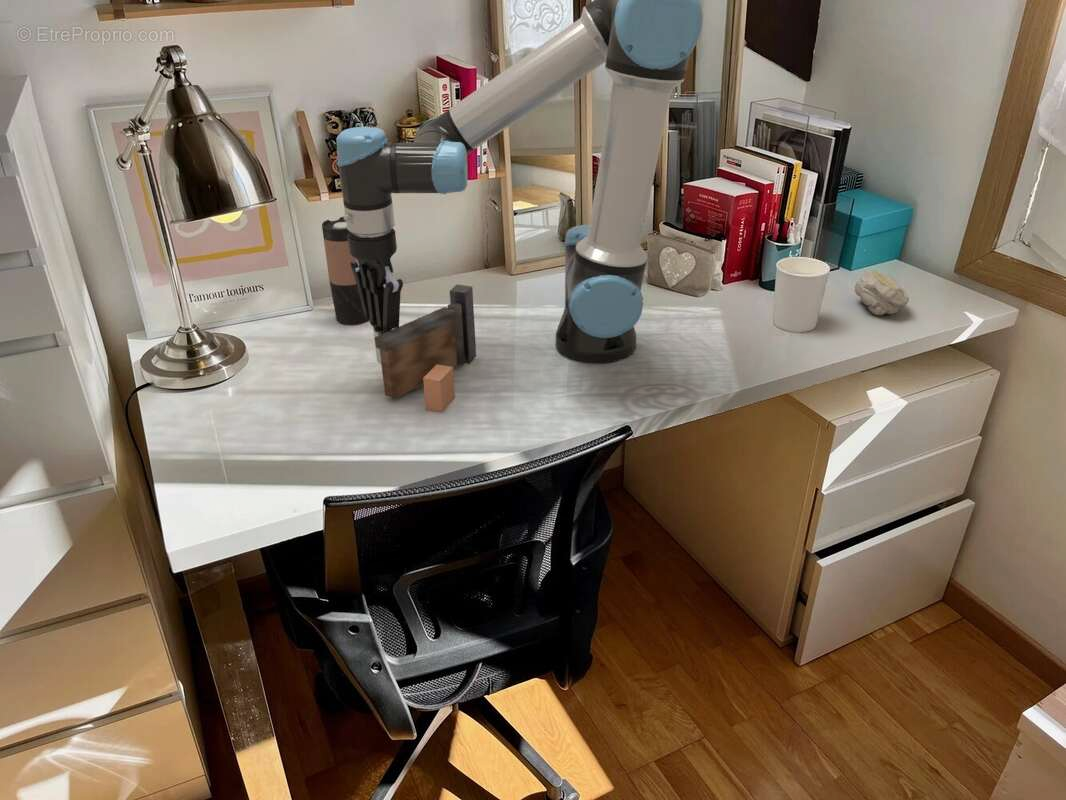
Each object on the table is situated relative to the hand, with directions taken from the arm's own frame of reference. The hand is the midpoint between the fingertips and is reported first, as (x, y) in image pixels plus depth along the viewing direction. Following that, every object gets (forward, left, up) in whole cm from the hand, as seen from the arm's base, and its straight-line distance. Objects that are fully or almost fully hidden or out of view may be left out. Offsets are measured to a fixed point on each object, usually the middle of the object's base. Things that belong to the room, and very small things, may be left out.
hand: (386, 360), depth 148 cm
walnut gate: (-6, -2, -4) cm, 8 cm away
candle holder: (-64, -48, -5) cm, 80 cm away
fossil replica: (-79, -60, -5) cm, 99 cm away
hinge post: (-9, -13, -5) cm, 16 cm away
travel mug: (+20, -22, -5) cm, 30 cm away
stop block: (-12, +3, -5) cm, 13 cm away
